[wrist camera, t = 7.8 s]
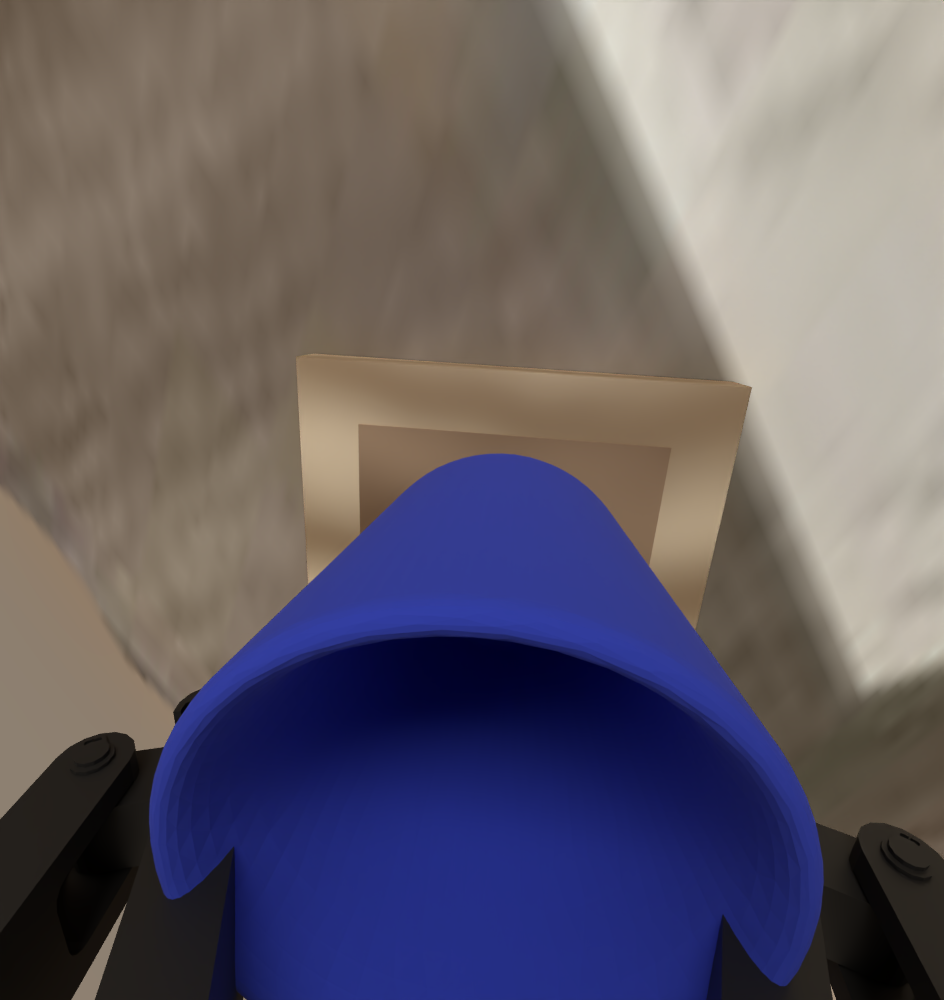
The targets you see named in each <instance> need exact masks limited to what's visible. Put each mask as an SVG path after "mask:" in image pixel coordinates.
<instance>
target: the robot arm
mask: <svg viewBox="0 0 944 1000" xmlns="http://www.w3.org/2000/svg"><path fill="white" fill-rule="evenodd" d="M200 690H201V689H200ZM200 690H198V691H195V692H193V693H191V694H190V695H188V696H187V697H186V698H184V699H183V700H182V701H181V702H179V704H178V706H177V707H176V709H175V710H174V712H173V713H174V719H175V724H176V723H177V721H178V720H179V718H180V717H181V715H182V714H183V712H184V711H185V709H186V708H187V707H188V705H189V704H190V702H191V701H192V699H193V698H194V697H195V696H196V695H197V693H198V692H199V691H200ZM163 748H164V747H162V748H155V749H148V750H140V751H136V749H135V744H134V740H133V739H132V738H130V737H129V736H128V735H127V734H122V733H117V732H112V733H103V734H98V735H96V736H92V737H89V738H86V739H84V740H82V741H80V742H78V743H76V744H74V745H73V746H71V747H69V748H68V749H67V750H65V751H64V752H63V753H62V754H61V755H60V756H58V757H57V758H56V759H55V760H54V761H53V762H52V764H51V765H50V766H49V767H48V768H47V769H46V770H45V771H44V772H43V773H42V775H41V776H40V777H39V778H38V779H37V780H36V781H35V782H34V783H33V784H32V785H31V786H30V788H29V789H28V790H27V791H26V792H25V793H24V794H23V795H22V796H21V797H20V799H19V800H18V801H17V802H16V803H15V804H14V805H13V806H12V807H11V808H10V809H9V811H8V812H7V813H6V814H5V815H4V816H3V817H2V818H1V819H0V1000H71V999H72V998H73V996H74V994H75V992H76V990H77V989H78V987H79V985H80V983H81V982H82V980H83V978H84V977H85V975H86V973H87V971H88V969H89V968H90V966H91V964H92V962H93V961H94V959H95V957H96V955H97V954H98V952H99V950H100V948H101V947H102V945H103V943H104V941H105V940H106V938H107V936H108V934H109V932H110V931H111V929H112V927H113V925H114V924H115V922H116V920H117V919H118V917H119V915H120V913H121V912H122V910H123V908H124V906H125V904H126V903H127V904H126V907H125V910H124V914H123V917H122V920H121V923H120V925H119V928H118V932H117V934H116V938H115V941H114V944H113V947H112V950H111V953H110V956H109V959H108V962H107V965H106V968H105V971H104V974H103V977H102V980H101V983H100V986H99V989H98V992H97V995H96V998H95V1000H243V996H242V995H241V994H240V993H238V992H237V991H236V983H235V854H234V847H233V848H232V849H231V850H230V851H229V853H228V854H227V855H226V856H225V857H224V859H223V860H222V861H221V862H220V863H219V864H218V865H217V866H216V867H215V868H214V869H213V870H212V871H211V872H210V874H209V875H208V876H207V877H206V878H205V879H204V880H203V881H202V882H200V883H199V884H198V885H197V886H196V887H194V888H193V889H192V890H191V891H190V892H188V893H186V894H185V895H183V896H182V897H180V898H176V899H173V900H172V899H168V898H167V897H166V896H165V895H164V893H163V890H162V887H161V884H160V881H159V878H158V875H157V872H156V869H155V863H154V858H153V853H152V848H151V842H150V827H149V808H150V797H151V791H152V785H153V779H154V775H155V772H156V769H157V766H158V763H159V760H160V756H161V753H162V751H163ZM815 823H816V822H815ZM816 827H817V831H818V837H819V842H820V848H821V853H822V859H823V875H824V884H823V895H822V905H821V911H820V916H819V920H818V924H817V927H816V930H815V933H814V937H813V940H812V943H811V946H810V948H809V950H808V952H807V954H806V956H805V958H804V960H803V962H802V964H801V966H800V968H799V970H798V972H797V973H796V975H795V976H794V977H793V979H792V980H791V981H790V982H789V983H788V985H787V986H779V985H777V984H775V983H774V982H772V981H771V980H770V979H769V978H768V977H767V976H766V975H765V974H763V973H762V972H761V970H760V969H759V968H758V967H757V965H756V964H755V963H754V962H753V960H752V959H751V958H750V957H749V955H748V954H747V952H746V951H745V949H744V948H743V946H742V944H741V943H740V941H739V940H738V938H737V937H736V935H735V934H734V932H733V930H732V929H731V927H730V925H729V923H728V922H727V920H726V918H725V916H724V915H722V920H721V924H720V929H719V934H718V939H717V944H716V949H715V955H714V960H713V965H712V970H711V976H710V982H709V987H708V993H707V999H706V1000H833V998H832V992H831V986H832V989H833V992H834V995H835V997H836V1000H944V860H943V859H942V857H941V856H940V855H939V854H938V853H937V852H936V851H935V850H933V849H932V848H931V847H930V846H928V845H927V844H926V843H925V842H923V841H922V840H921V839H919V838H917V837H915V836H914V835H912V834H910V833H908V832H906V831H905V830H903V829H900V828H897V827H894V826H891V825H888V824H885V823H869V824H866V825H864V826H862V827H861V828H860V831H859V833H858V836H857V838H855V837H852V836H850V835H847V834H844V833H842V832H839V831H836V830H834V829H831V828H828V827H825V826H823V825H820V824H818V823H816ZM830 984H831V985H830Z"/></svg>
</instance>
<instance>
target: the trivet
mask: <svg viewBox="0 0 944 1000" xmlns="http://www.w3.org/2000/svg"><path fill="white" fill-rule="evenodd" d="M296 366H297V384H298V403H299V421H300V440H301V459H302V477H303V496H304V514H305V533H306V552H307V570H308V584H309V583H310V582H311V581H312V580H313V579H314V578H315V577H316V576H317V575H318V574H319V573H320V572H321V571H323V570H324V569H325V568H326V567H327V566H328V565H329V564H330V563H331V562H332V561H333V560H334V559H335V558H336V557H337V556H338V555H339V554H340V553H341V552H342V551H343V550H344V549H345V548H346V547H347V546H348V545H349V544H350V543H351V542H352V541H354V540H355V539H356V538H357V537H358V536H359V535H360V534H361V533H362V532H363V531H364V530H365V529H366V528H367V527H368V526H369V525H370V524H371V523H372V522H373V521H374V520H375V519H376V518H377V517H378V516H379V515H380V514H381V513H382V512H384V511H385V510H386V509H387V508H388V507H389V506H390V505H391V504H392V503H393V502H394V501H395V500H396V499H397V498H398V497H399V496H400V495H401V494H402V493H403V492H404V491H405V490H407V489H408V488H409V487H410V486H411V485H412V484H413V483H415V482H416V481H417V480H419V479H420V478H422V477H423V476H424V475H426V474H427V473H429V472H431V471H433V470H434V469H436V468H438V467H440V466H443V465H445V464H447V463H450V462H452V461H456V460H459V459H462V458H466V457H470V456H475V455H482V454H501V453H502V454H515V455H521V456H526V457H531V458H534V459H538V460H541V461H543V462H546V463H549V464H552V465H554V466H556V467H558V468H560V469H562V470H564V471H565V472H567V473H569V474H570V475H572V476H574V477H575V478H577V479H578V480H579V481H581V482H582V483H583V484H584V485H586V486H587V487H588V488H589V489H590V490H591V491H592V492H593V493H594V494H595V495H596V496H597V497H598V498H599V499H600V500H601V501H602V502H603V504H604V505H605V506H606V507H607V509H608V510H609V511H610V513H611V514H612V515H613V517H614V518H615V520H616V521H617V522H618V524H619V525H620V527H621V528H622V529H623V531H624V532H625V534H626V535H627V536H628V538H629V539H630V540H631V542H632V543H633V545H634V546H635V547H636V549H637V550H638V552H639V553H640V554H641V556H642V557H643V559H644V560H645V561H646V563H647V564H648V566H649V567H650V568H651V570H652V571H653V572H654V574H655V575H656V577H657V578H658V579H659V581H660V582H661V584H662V585H663V586H664V588H665V589H666V591H667V592H668V593H669V595H670V596H671V598H672V599H673V600H674V602H675V603H676V605H677V606H678V607H679V609H680V610H681V611H682V613H683V614H684V616H685V617H686V618H687V620H688V621H689V623H690V624H691V625H692V627H693V628H694V630H695V629H696V625H697V621H698V616H699V612H700V608H701V604H702V599H703V595H704V591H705V586H706V582H707V578H708V573H709V569H710V565H711V561H712V556H713V552H714V548H715V543H716V539H717V535H718V531H719V526H720V522H721V518H722V513H723V509H724V505H725V500H726V496H727V492H728V488H729V483H730V479H731V475H732V470H733V466H734V462H735V457H736V453H737V449H738V445H739V440H740V436H741V432H742V427H743V423H744V419H745V414H746V410H747V406H748V402H749V397H750V393H751V389H752V387H749V386H745V385H742V384H739V383H735V382H729V381H714V380H699V379H684V378H669V377H655V376H640V375H625V374H610V373H595V372H580V371H565V370H550V369H535V368H520V367H505V366H490V365H475V364H460V363H445V362H431V361H416V360H401V359H386V358H371V357H356V356H341V355H326V354H309V355H303V356H297V357H296Z"/></svg>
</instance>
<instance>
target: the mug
mask: <svg viewBox="0 0 944 1000" xmlns="http://www.w3.org/2000/svg"><path fill="white" fill-rule="evenodd" d="M149 827H150V842H151V848H152V853H153V858H154V863H155V869H156V872H157V875H158V878H159V881H160V884H161V887H162V890H163V893H164V895H165V896H166V897H167V898H168V899H172V900H173V899H176V898H180V897H182V896H183V895H185V894H186V893H188V892H190V891H191V890H192V889H193V888H194V887H196V886H197V885H198V884H199V883H200V882H202V881H203V880H204V879H205V878H206V877H207V876H208V875H209V874H210V872H211V871H212V870H213V869H214V868H215V867H216V866H217V865H218V864H219V863H220V862H221V861H222V860H223V859H224V857H225V856H226V855H227V854H228V853H229V851H230V850H231V849H232V848H233V847H234V854H235V983H236V991H237V992H238V993H240V994H241V995H242V996H243V997H244V998H245V999H247V1000H706V999H707V993H708V987H709V982H710V976H711V970H712V965H713V960H714V955H715V949H716V944H717V939H718V934H719V929H720V924H721V920H722V915H724V916H725V918H726V920H727V922H728V923H729V925H730V927H731V929H732V930H733V932H734V934H735V935H736V937H737V938H738V940H739V941H740V943H741V944H742V946H743V948H744V949H745V951H746V952H747V954H748V955H749V957H750V958H751V959H752V960H753V962H754V963H755V964H756V965H757V967H758V968H759V969H760V970H761V972H762V973H763V974H765V975H766V976H767V977H768V978H769V979H770V980H771V981H772V982H774V983H775V984H777V985H779V986H787V985H788V983H789V982H790V981H791V980H792V979H793V977H794V976H795V975H796V973H797V972H798V970H799V968H800V966H801V964H802V962H803V960H804V958H805V956H806V954H807V952H808V950H809V948H810V946H811V943H812V940H813V937H814V933H815V930H816V927H817V924H818V920H819V916H820V911H821V905H822V895H823V884H824V875H823V859H822V853H821V848H820V842H819V837H818V831H817V827H816V823H815V820H814V817H813V814H812V811H811V808H810V805H809V803H808V800H807V797H806V795H805V793H804V791H803V789H802V787H801V785H800V783H799V781H798V779H797V777H796V775H795V773H794V771H793V769H792V767H791V765H790V764H789V762H788V761H787V759H786V757H785V756H784V754H783V753H782V751H781V749H780V748H779V746H778V745H777V744H776V742H775V741H774V740H773V738H772V737H771V735H770V734H769V733H768V731H767V730H766V728H765V727H764V726H763V724H762V723H761V721H760V720H759V719H758V717H757V716H756V714H755V713H754V712H753V710H752V709H751V708H750V706H749V705H748V703H747V702H746V701H745V699H744V698H743V696H742V695H741V694H740V692H739V691H738V689H737V688H736V687H735V685H734V684H733V682H732V681H731V680H730V678H729V677H728V675H727V674H726V673H725V671H724V670H723V669H722V667H721V666H720V664H719V663H718V662H717V660H716V659H715V657H714V656H713V655H712V653H711V652H710V650H709V649H708V648H707V646H706V645H705V643H704V642H703V641H702V639H701V638H700V637H699V635H698V634H697V632H696V631H695V630H694V628H693V627H692V625H691V624H690V623H689V621H688V620H687V618H686V617H685V616H684V614H683V613H682V611H681V610H680V609H679V607H678V606H677V605H676V603H675V602H674V600H673V599H672V598H671V596H670V595H669V593H668V592H667V591H666V589H665V588H664V586H663V585H662V584H661V582H660V581H659V579H658V578H657V577H656V575H655V574H654V572H653V571H652V570H651V568H650V567H649V566H648V564H647V563H646V561H645V560H644V559H643V557H642V556H641V554H640V553H639V552H638V550H637V549H636V547H635V546H634V545H633V543H632V542H631V540H630V539H629V538H628V536H627V535H626V534H625V532H624V531H623V529H622V528H621V527H620V525H619V524H618V522H617V521H616V520H615V518H614V517H613V515H612V514H611V513H610V511H609V510H608V509H607V507H606V506H605V505H604V504H603V502H602V501H601V500H600V499H599V498H598V497H597V496H596V495H595V494H594V493H593V492H592V491H591V490H590V489H589V488H588V487H587V486H586V485H584V484H583V483H582V482H581V481H579V480H578V479H577V478H575V477H574V476H572V475H570V474H569V473H567V472H565V471H564V470H562V469H560V468H558V467H556V466H554V465H552V464H549V463H546V462H543V461H541V460H538V459H534V458H531V457H526V456H521V455H515V454H502V453H501V454H482V455H475V456H470V457H466V458H462V459H459V460H456V461H452V462H450V463H447V464H445V465H443V466H440V467H438V468H436V469H434V470H433V471H431V472H429V473H427V474H426V475H424V476H423V477H422V478H420V479H419V480H417V481H416V482H415V483H413V484H412V485H411V486H410V487H409V488H408V489H407V490H405V491H404V492H403V493H402V494H401V495H400V496H399V497H398V498H397V499H396V500H395V501H394V502H393V503H392V504H391V505H390V506H389V507H388V508H387V509H386V510H385V511H384V512H382V513H381V514H380V515H379V516H378V517H377V518H376V519H375V520H374V521H373V522H372V523H371V524H370V525H369V526H368V527H367V528H366V529H365V530H364V531H363V532H362V533H361V534H360V535H359V536H358V537H357V538H356V539H355V540H354V541H352V542H351V543H350V544H349V545H348V546H347V547H346V548H345V549H344V550H343V551H342V552H341V553H340V554H339V555H338V556H337V557H336V558H335V559H334V560H333V561H332V562H331V563H330V564H329V565H328V566H327V567H326V568H325V569H324V570H323V571H321V572H320V573H319V574H318V575H317V576H316V577H315V578H314V579H313V580H312V581H311V582H310V583H309V584H308V585H307V586H306V587H305V588H304V589H303V590H302V591H301V592H300V593H299V594H298V595H297V596H296V597H295V598H294V599H293V600H291V601H290V602H289V603H288V604H287V605H286V606H285V607H284V608H283V609H282V610H281V611H280V612H279V613H278V614H277V615H276V616H275V617H274V618H273V619H272V620H271V621H270V622H269V623H268V624H267V625H266V626H265V627H264V628H263V629H261V630H260V631H259V632H258V633H257V634H256V635H255V636H254V637H253V638H252V639H251V640H250V641H249V642H248V643H247V644H246V645H245V646H244V647H243V648H242V649H241V650H240V651H239V652H238V653H237V654H236V655H235V656H234V657H233V658H232V659H230V660H229V661H228V662H227V663H226V664H225V665H224V666H223V667H222V668H221V669H220V670H219V671H218V672H217V673H216V674H215V675H214V676H213V677H212V678H211V679H210V680H209V681H208V682H207V683H206V684H205V685H204V686H203V688H202V689H201V690H200V691H199V692H198V693H197V695H196V696H195V697H194V698H193V699H192V701H191V702H190V704H189V705H188V707H187V708H186V709H185V711H184V712H183V714H182V715H181V717H180V718H179V720H178V721H177V723H176V724H175V726H174V728H173V730H172V732H171V734H170V736H169V738H168V740H167V742H166V744H165V746H164V748H163V751H162V753H161V756H160V760H159V763H158V766H157V769H156V772H155V775H154V779H153V785H152V791H151V797H150V808H149Z"/></svg>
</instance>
